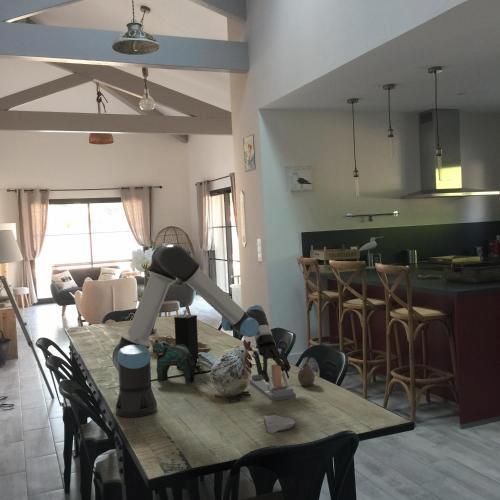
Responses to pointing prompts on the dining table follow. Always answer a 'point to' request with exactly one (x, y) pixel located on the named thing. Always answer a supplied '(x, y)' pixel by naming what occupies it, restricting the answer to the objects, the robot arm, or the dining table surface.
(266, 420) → the stone
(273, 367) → the fader knob
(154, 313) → the robot arm
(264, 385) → the console board
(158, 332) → the dining table surface
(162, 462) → the dining table surface
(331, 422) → the dining table surface
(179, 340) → the black rectangular column
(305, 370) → the vase
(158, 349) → the teal animal figurine
